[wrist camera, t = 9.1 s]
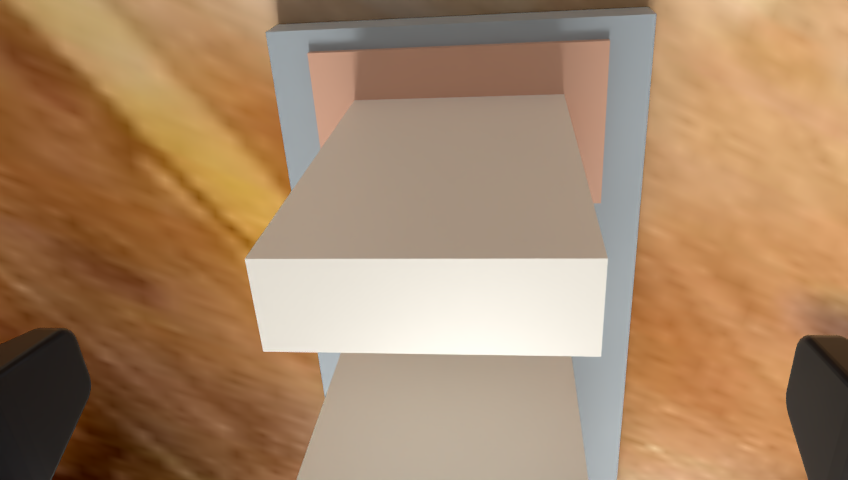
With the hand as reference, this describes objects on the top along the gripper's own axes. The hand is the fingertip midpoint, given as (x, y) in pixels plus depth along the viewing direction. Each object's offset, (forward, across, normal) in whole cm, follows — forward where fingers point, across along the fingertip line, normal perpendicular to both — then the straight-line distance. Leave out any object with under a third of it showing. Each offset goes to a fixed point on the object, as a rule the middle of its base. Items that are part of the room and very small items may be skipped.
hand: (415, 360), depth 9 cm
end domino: (+9, 0, 0) cm, 9 cm away
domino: (+10, 0, +5) cm, 11 cm away
